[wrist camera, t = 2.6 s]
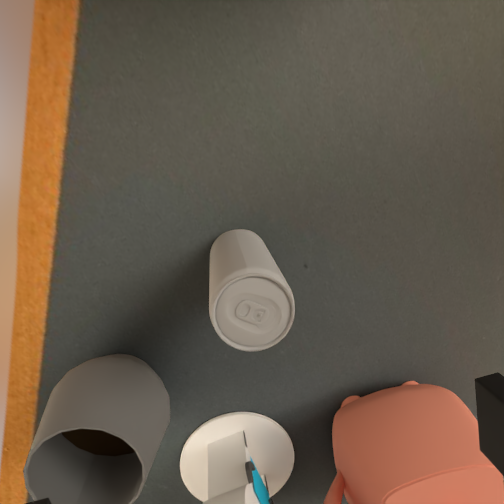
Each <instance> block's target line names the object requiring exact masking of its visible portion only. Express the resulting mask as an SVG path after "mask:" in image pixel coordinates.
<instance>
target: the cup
mask: <svg viewBox="0 0 504 504" xmlns="http://www.w3.org/2000/svg"><path fill="white" fill-rule="evenodd" d="M169 421H170V398H169V395H168V393H167V391H166V389H165V386H164V384H163V382H162V380H161V379H160V377H159V376H158V375H157V374H156V373H155V371H154V370H153V369H152V368H151V367H150V366H149V365H148V364H147V363H146V362H145V361H143V360H141V359H139V358H137V357H135V356H133V355H126V354H113V355H107V356H102V357H98V358H94V359H90V360H88V361H86V362H84V363H82V364H80V365H78V366H77V367H75V368H73V369H71V370H70V371H68V372H67V373H66V375H65V376H64V377H63V378H62V379H61V380H60V382H59V383H58V384H57V385H56V386H55V387H54V388H53V390H52V392H51V395H50V398H49V400H48V403H47V406H46V408H45V411H44V414H43V416H42V419H41V422H40V425H39V427H38V430H37V433H36V435H35V438H34V441H33V444H32V446H31V449H30V452H29V454H28V458H27V461H26V464H25V467H24V470H23V472H24V479H25V485H26V489H27V490H28V492H29V493H30V495H31V496H32V498H33V499H34V501H37V500H41V499H44V498H49V500H50V502H51V504H132V503H133V502H134V501H135V500H136V499H137V498H138V497H139V496H140V493H141V491H142V488H143V486H144V484H145V481H146V479H147V476H148V474H149V471H150V469H151V466H152V464H153V461H154V459H155V456H156V454H157V451H158V449H159V446H160V444H161V442H162V439H163V437H164V434H165V432H166V429H167V427H168V424H169Z"/></svg>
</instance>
